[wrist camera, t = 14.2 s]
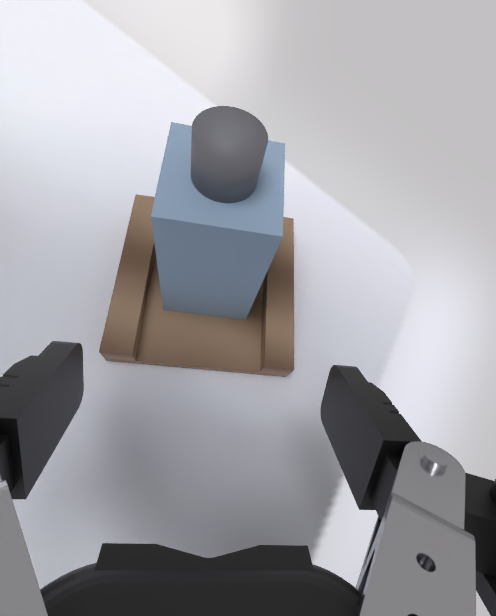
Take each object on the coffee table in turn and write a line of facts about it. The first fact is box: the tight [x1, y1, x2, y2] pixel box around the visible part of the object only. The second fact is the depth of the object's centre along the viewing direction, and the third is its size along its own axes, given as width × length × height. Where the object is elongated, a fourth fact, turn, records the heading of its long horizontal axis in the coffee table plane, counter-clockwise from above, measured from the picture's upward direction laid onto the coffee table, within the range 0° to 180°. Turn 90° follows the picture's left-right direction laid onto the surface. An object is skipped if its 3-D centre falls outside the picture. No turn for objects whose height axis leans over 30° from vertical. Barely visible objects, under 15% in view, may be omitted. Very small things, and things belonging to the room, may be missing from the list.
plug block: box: [151, 106, 285, 320], centre depth 17 cm, size 5×5×10 cm
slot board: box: [99, 195, 294, 376], centre depth 21 cm, size 10×10×2 cm
